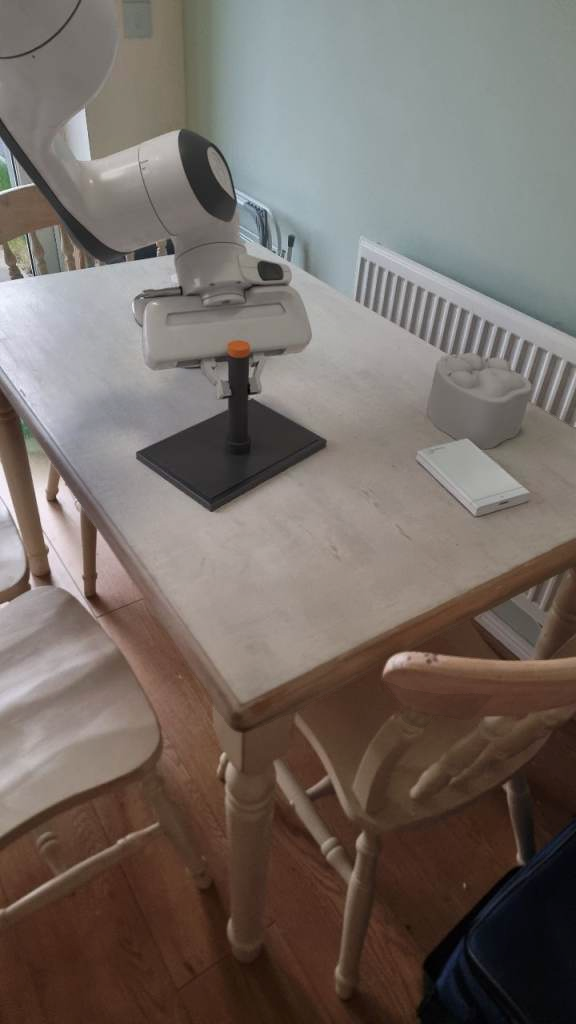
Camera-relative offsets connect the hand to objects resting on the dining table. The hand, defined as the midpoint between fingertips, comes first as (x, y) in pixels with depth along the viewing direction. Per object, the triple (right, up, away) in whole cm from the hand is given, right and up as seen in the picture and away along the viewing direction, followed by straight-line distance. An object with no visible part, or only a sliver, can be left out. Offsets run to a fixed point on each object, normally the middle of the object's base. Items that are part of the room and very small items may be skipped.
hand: (240, 395), depth 82 cm
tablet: (-1, -6, +6) cm, 9 cm away
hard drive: (+28, -10, +5) cm, 30 cm away
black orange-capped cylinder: (-1, -6, +5) cm, 8 cm away
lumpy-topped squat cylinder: (+31, -1, +16) cm, 35 cm away
